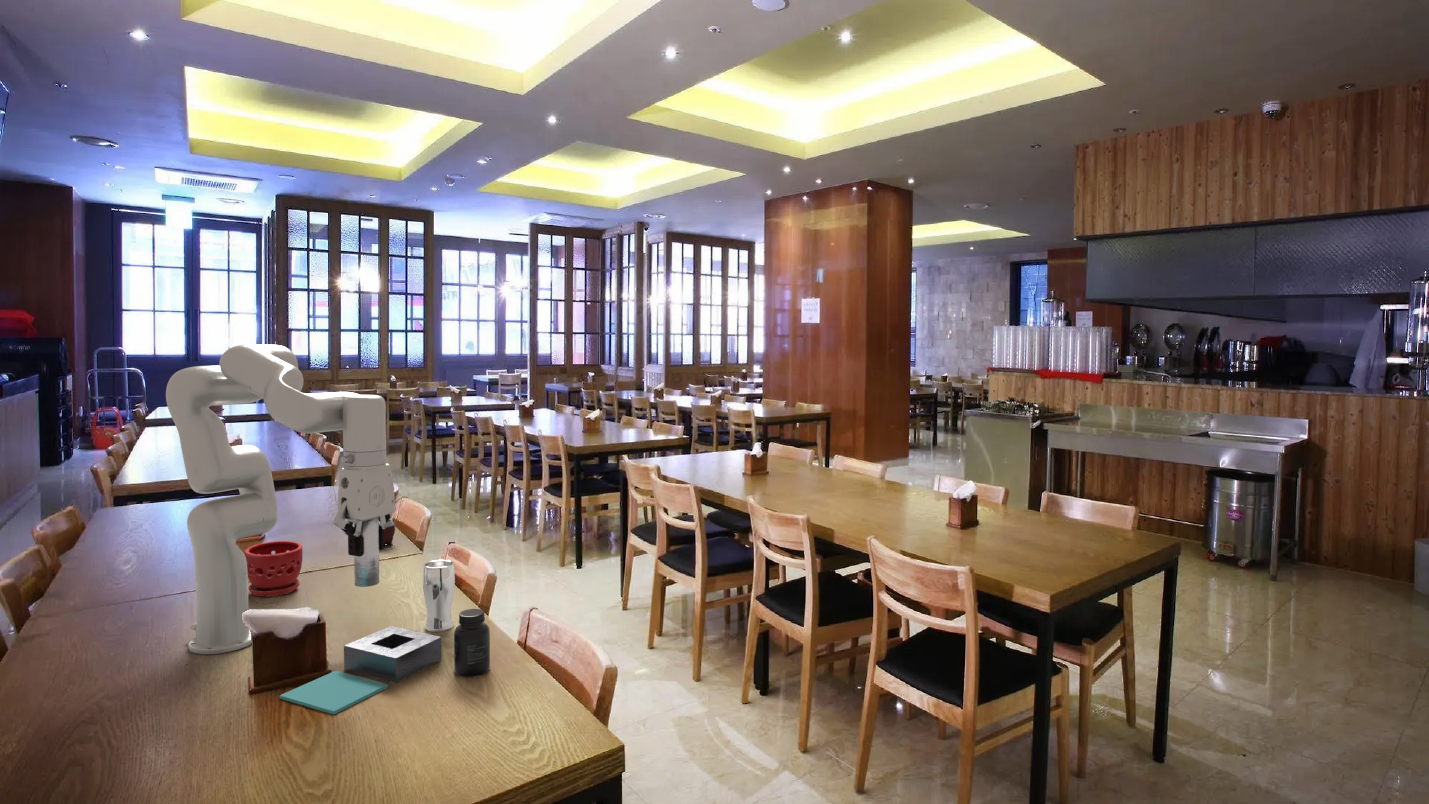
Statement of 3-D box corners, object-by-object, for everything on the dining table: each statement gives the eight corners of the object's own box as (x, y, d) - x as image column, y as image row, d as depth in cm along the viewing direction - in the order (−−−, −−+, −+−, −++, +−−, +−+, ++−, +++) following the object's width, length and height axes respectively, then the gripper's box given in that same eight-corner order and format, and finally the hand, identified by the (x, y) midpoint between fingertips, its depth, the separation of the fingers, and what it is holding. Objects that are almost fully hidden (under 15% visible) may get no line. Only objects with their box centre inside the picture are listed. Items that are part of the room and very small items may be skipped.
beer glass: (444, 634, 174) (444, 569, 173) (417, 631, 175) (416, 566, 174) (460, 623, 181) (460, 560, 179) (434, 620, 182) (433, 558, 181)
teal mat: (279, 698, 141) (279, 695, 141) (335, 673, 152) (335, 670, 152) (333, 714, 136) (333, 711, 136) (387, 687, 147) (387, 684, 147)
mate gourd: (366, 547, 245) (366, 500, 244) (381, 541, 253) (380, 496, 252) (388, 548, 244) (387, 502, 243) (402, 542, 252) (401, 497, 250)
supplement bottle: (452, 666, 157) (452, 609, 156) (487, 661, 159) (487, 605, 158) (455, 680, 150) (455, 620, 149) (491, 674, 153) (491, 616, 152)
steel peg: (349, 584, 148) (348, 518, 147) (367, 578, 153) (366, 514, 152) (366, 588, 147) (365, 521, 146) (384, 581, 151) (383, 516, 150)
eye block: (344, 669, 154) (343, 645, 154) (391, 648, 165) (391, 625, 165) (396, 683, 148) (395, 658, 148) (441, 660, 159) (441, 637, 159)
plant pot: (233, 595, 197) (232, 550, 196) (279, 581, 209) (278, 538, 208) (269, 603, 192) (268, 556, 191) (314, 588, 204) (313, 543, 203)
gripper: (343, 466, 139) (344, 566, 140) (412, 455, 154) (413, 544, 156) (313, 463, 141) (314, 560, 143) (384, 452, 157) (385, 540, 158)
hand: (366, 551), depth 149 cm, fingers closed on steel peg, 4 cm apart
